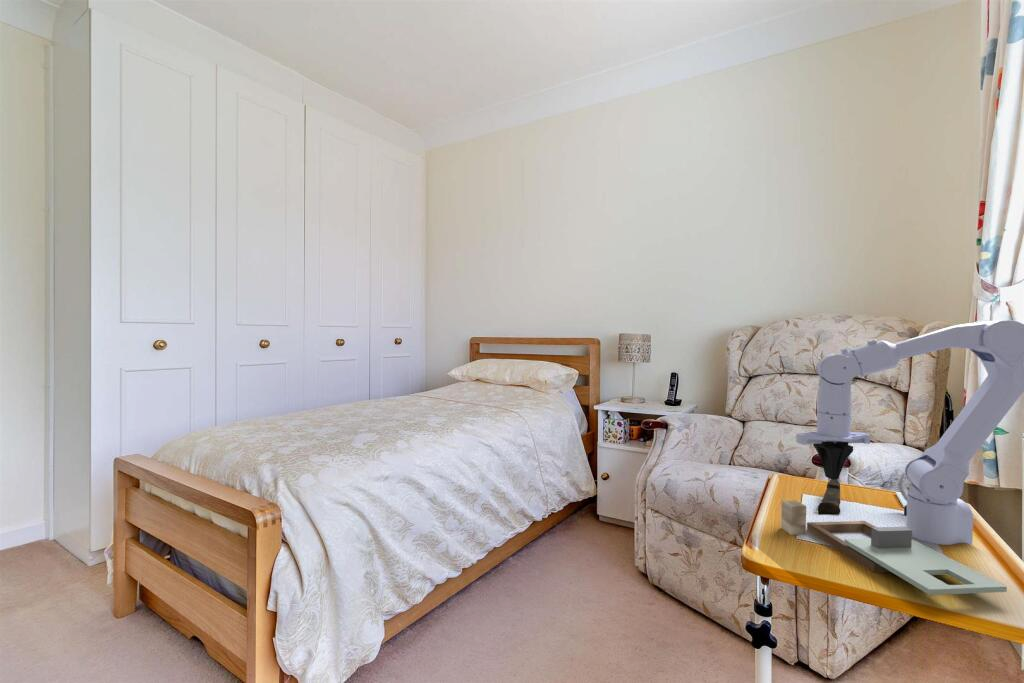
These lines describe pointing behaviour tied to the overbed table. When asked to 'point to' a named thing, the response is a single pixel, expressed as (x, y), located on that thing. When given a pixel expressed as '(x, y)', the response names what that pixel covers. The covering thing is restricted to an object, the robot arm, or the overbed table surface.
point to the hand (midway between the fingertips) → (831, 478)
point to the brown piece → (824, 530)
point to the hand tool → (830, 499)
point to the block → (793, 517)
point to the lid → (920, 563)
